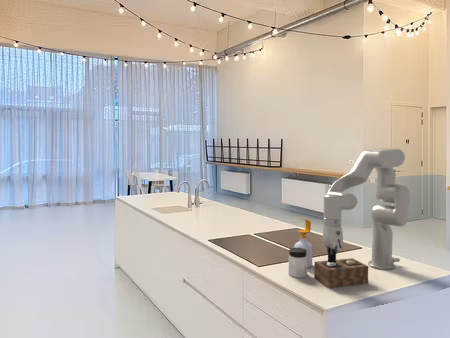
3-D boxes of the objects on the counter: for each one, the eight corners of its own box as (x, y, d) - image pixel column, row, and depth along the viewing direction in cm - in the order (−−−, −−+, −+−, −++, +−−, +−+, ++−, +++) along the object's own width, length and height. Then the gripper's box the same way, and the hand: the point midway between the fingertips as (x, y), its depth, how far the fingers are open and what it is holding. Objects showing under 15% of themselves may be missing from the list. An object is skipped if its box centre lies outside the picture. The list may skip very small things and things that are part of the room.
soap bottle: (290, 263, 197) (291, 217, 195) (305, 261, 200) (306, 215, 198) (300, 268, 188) (300, 220, 187) (315, 266, 192) (316, 219, 190)
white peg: (332, 278, 173) (332, 261, 172) (337, 281, 169) (337, 264, 168) (324, 279, 172) (325, 262, 171) (329, 282, 168) (329, 265, 167)
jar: (284, 273, 181) (285, 249, 181) (296, 270, 186) (296, 246, 185) (298, 279, 174) (299, 253, 173) (310, 275, 179) (311, 250, 178)
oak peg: (351, 276, 175) (351, 260, 175) (356, 279, 172) (357, 262, 171) (343, 277, 174) (344, 260, 174) (349, 280, 170) (349, 263, 170)
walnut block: (352, 274, 180) (352, 257, 179) (367, 283, 169) (368, 265, 168) (314, 278, 175) (314, 260, 174) (328, 288, 163) (328, 269, 163)
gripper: (349, 224, 162) (348, 266, 164) (330, 218, 177) (330, 256, 178) (333, 226, 160) (333, 268, 162) (316, 219, 175) (316, 257, 176)
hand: (331, 261), depth 170 cm, fingers closed
